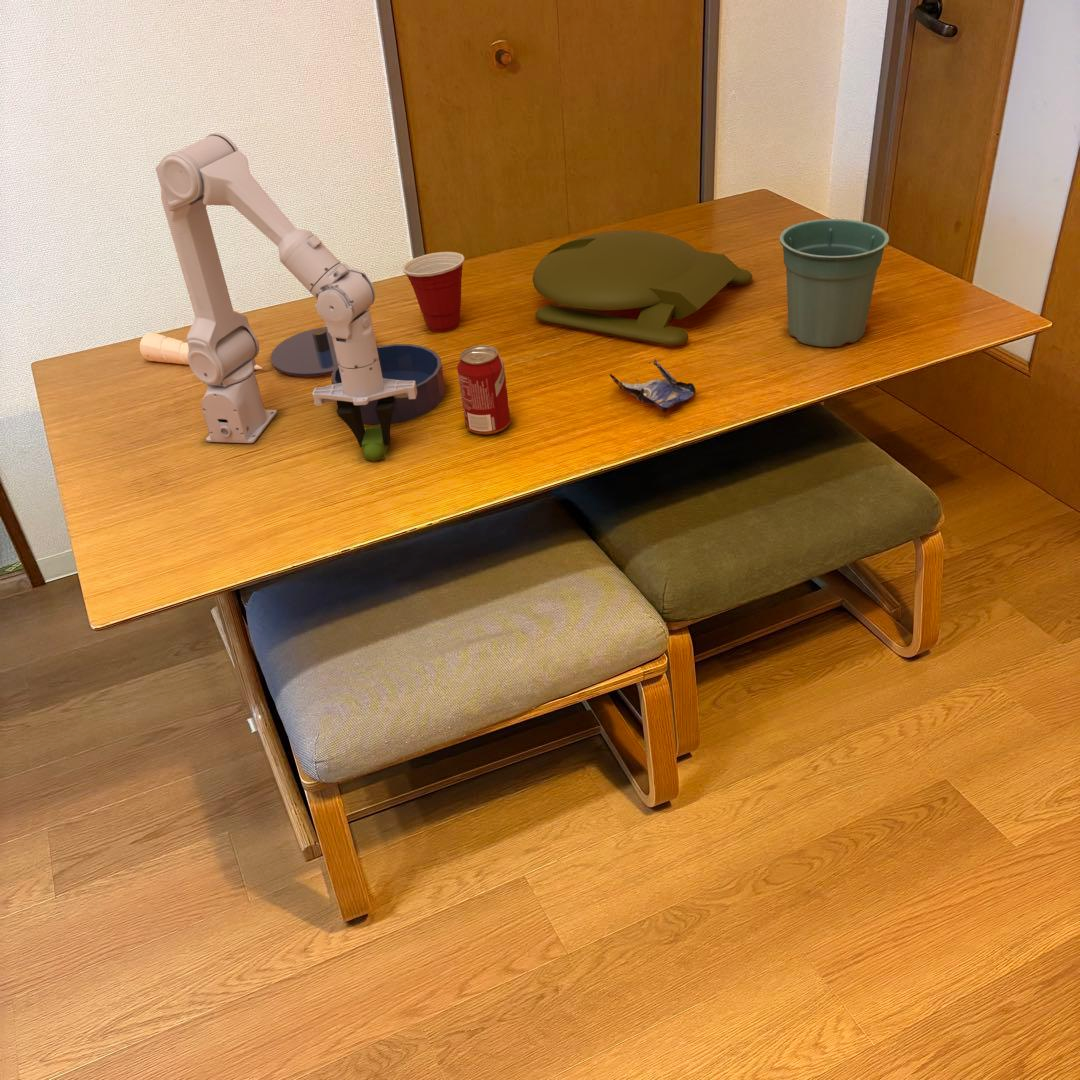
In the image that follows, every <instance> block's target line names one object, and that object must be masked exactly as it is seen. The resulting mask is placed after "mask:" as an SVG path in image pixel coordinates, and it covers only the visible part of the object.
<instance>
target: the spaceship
mask: <svg viewBox="0 0 1080 1080" xmlns="http://www.w3.org/2000/svg"><path fill="white" fill-rule="evenodd" d="M752 280H753V274H752V273H751V272H750V271H749V270H748V269H744V268H740V267H739V266H738V265H736V264H735V262H733V261H732V260H731V259H730V258H728V257H727V256H726V255H725V254H722V253H716V252H709V251H702V250H697V249H696V248H695V247H694V246H692V244H689V243H687V242H686V241H684V240H682V239H680V238H678V237H675V236H671V235H669V234H664V233H660V232H655V231H650V230H649V231H648V230H639V229H638V230H635V229H633V230H632V229H631V230H630V229H624V230H623V229H622V230H609V231H602V232H596V233H591V234H587V235H584V236H580V237H578V238H575V239H572V240H570V241H568V242H565V243H563V244H561V245H560V246H558V247H557V248H555V249H552V250H551V251H550V252H548V253H547V254H546V255H545V256H543V258H541V259H540V261H539V262H538V263H537V265H536V266H535V269H534V270H533V274H532V284H533V287H534V289H535V290H536V292H537V293H538V294H539V295H541V296H542V297H544V298H545V299H547V300H549V301H551V302H553V303H556V304H559V305H556V304H546V305H543V306H540V307H538V309H537V310H536V311H535V312H534V316H535V319H536V320H537V321H538V322H539V323H543V324H547V325H553V326H557V327H563V328H568V329H572V330H573V329H574V330H578V331H583V332H584V331H585V332H590V333H596V334H598V335H599V334H600V335H605V336H609V337H616V338H619V339H626V340H632V341H635V342H641V343H646V344H652V345H657V346H662V347H666V348H669V347H670V348H676V347H680V346H683V345H685V344H686V343H687V342H688V341H689V333H688V331H686V329H684V328H682V327H678V326H672V325H669V323H670V321H671V319H675V320H683V319H684V318H686V317H688V316H690V315H691V314H693V313H695V312H697V311H699V310H700V309H701V308H703V307H704V305H706V304H707V303H708V302H709V301H710V300H712V298H713V297H714V296H716V294H718V293H719V292H720V291H721V290H722V289H723V288H724V287H726V286H731V287H743V286H747V285H748V284H749V283H750V282H751V281H752ZM633 309H638V310H639V311H640V313H639V315H638V317H637V319H634V318H629V317H624V316H617V315H613V314H607V313H600V312H595V311H620V310H633Z"/></svg>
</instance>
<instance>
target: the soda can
mask: <svg viewBox="0 0 1080 1080" xmlns="http://www.w3.org/2000/svg"><path fill="white" fill-rule="evenodd" d="M459 359H460V360H459V362H458V363H457V365H456V366H457V367H456V370H457V378H458V384H459V390H460V396H461V402H462V410H463V417H464V424H465V427H466V429H467V430H468V431H469V432H472V433H474V434H477V435H484V436H488V435H494V434H497V433H500V432H501V431H503V430H505V429H506V428H507V427H508V426H509V425H510V424H511V421H512V420H511V411H510V410H511V409H510V402H509V395H508V387H507V377H506V370H505V363H504V359H503V358H502V357H501V356H500V355H499V350H498V349H497V348H496V347H495V346H492V345H485V344H479V345H473V346H470V347H467V348H465V349H464V350H463V351H462V352H460V353H459Z"/></svg>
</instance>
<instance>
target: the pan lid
mask: <svg viewBox="0 0 1080 1080" xmlns="http://www.w3.org/2000/svg"><path fill="white" fill-rule="evenodd" d="M270 363H271V365H272V367H274V369H275V370H277V371H278V372H280V373H282V374H285V375H289V376H295V377H319V376H326V375H330V374H331V375H332V372H333V370H334V369H335V368H336V366H337V365H338V362H337V358H336V353H335V349H334V344H333V339H332V336H331V335H330V333H328V329H327V326H322V327H316V328H311V329H307V330H304V331H302V332H299V333H296V334H294V335H292V336H290V337H289V336H288V338H286V339H284V340H283V341H281V342H279V344H278V345H277V344H276V346H275V348H274V349H273V350H272V352H271V353H270Z"/></svg>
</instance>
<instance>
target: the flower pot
mask: <svg viewBox="0 0 1080 1080" xmlns="http://www.w3.org/2000/svg"><path fill="white" fill-rule="evenodd" d="M889 241H890V235H889V234H888V232H886V230H885V229H883V228H882V227H880V226H877V225H875V224H872V223H870V222H869V223H868V222H865V221H860V220H855V219H845V218H823V219H822V218H821V219H813V220H807V221H806V220H805V221H802V222H799V223H798V222H797V223H795V224H793V225H790V226H788V227H786V228H785V229H784V230H783V231H781V233H780V234H779V243H780V245H781V246H782V251H783V264H784V266H785V273H786V274H785V275H786V276H785V277H786V300H787V301H786V302H787V303H786V304H787V306H786V307H787V327H788V328H787V331H788V334H789V335H790V337H793V338H795V339H796V340H797V341H798V342H799V343H801V344H804V345H808V346H812V347H818V348H836V347H842V346H843V345H844V344H846V343H849V344H853V343H857V341H859V340H861V339H862V337H863V336H864V334H865V331H866V326H867V322H868V316H869V311H870V307H871V301H872V296H873V292H874V288H875V282H876V278H877V274H878V269H879V267H880V266H881V264H882V260H883V255H884V251H885V248H886V247H887V246H888V244H889Z"/></svg>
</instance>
